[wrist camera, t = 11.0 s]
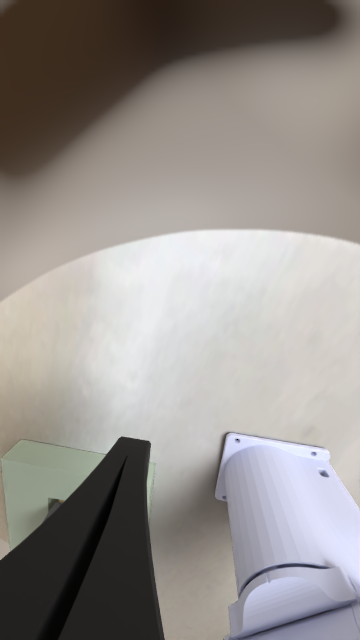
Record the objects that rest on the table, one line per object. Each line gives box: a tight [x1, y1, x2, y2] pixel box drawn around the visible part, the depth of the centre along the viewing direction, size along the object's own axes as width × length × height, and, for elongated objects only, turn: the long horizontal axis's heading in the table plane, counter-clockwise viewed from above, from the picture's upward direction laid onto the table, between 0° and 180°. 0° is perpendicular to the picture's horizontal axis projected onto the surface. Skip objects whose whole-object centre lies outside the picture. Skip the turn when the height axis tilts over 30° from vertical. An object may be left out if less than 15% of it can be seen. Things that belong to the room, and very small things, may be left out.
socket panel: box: [1, 439, 156, 552], centre depth 23 cm, size 15×13×3 cm
